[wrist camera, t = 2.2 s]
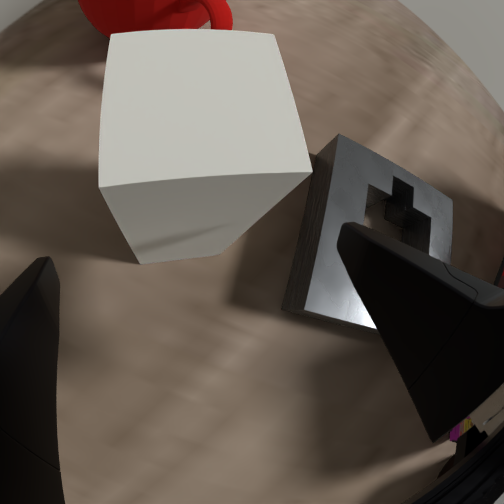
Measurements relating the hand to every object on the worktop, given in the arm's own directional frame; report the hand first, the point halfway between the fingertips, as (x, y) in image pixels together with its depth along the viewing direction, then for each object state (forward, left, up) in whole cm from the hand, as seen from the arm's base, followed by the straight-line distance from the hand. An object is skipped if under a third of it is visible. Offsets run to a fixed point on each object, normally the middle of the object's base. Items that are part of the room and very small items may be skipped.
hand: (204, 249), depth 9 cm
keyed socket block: (+13, -4, -11) cm, 18 cm away
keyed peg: (+1, +4, -11) cm, 11 cm away
